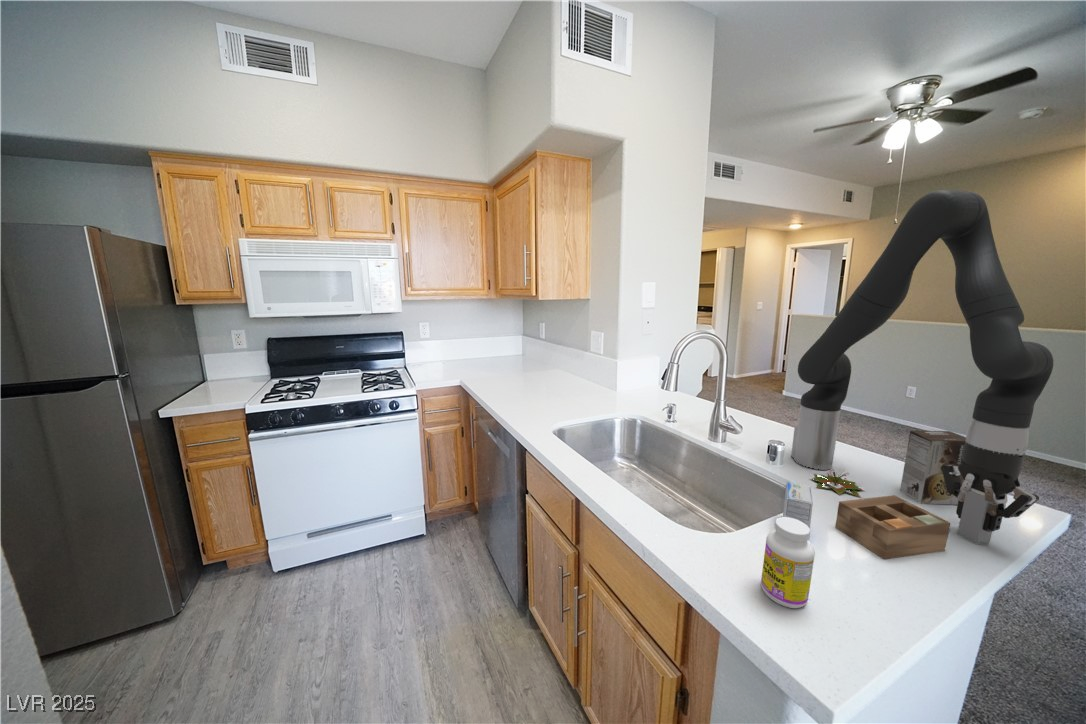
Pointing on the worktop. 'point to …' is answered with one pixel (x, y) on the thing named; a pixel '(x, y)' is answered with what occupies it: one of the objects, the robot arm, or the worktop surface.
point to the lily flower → (837, 481)
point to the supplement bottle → (788, 563)
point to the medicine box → (798, 503)
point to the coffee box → (931, 465)
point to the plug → (974, 518)
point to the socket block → (892, 526)
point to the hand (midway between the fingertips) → (976, 524)
